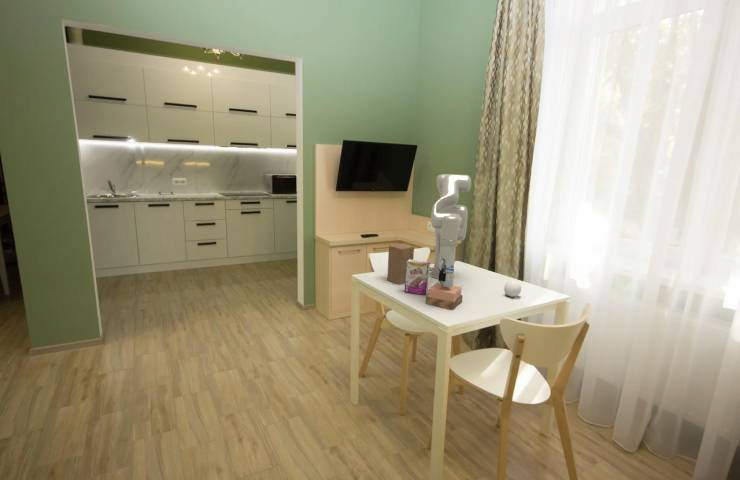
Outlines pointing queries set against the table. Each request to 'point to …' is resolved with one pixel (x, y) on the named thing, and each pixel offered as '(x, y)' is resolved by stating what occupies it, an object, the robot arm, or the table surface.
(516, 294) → the ball
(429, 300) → the tower bottom
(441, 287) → the tower top
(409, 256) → the wooden block
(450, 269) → the medicine box
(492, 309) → the table surface
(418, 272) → the candy bar box
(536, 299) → the table surface
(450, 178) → the robot arm
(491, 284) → the table surface
